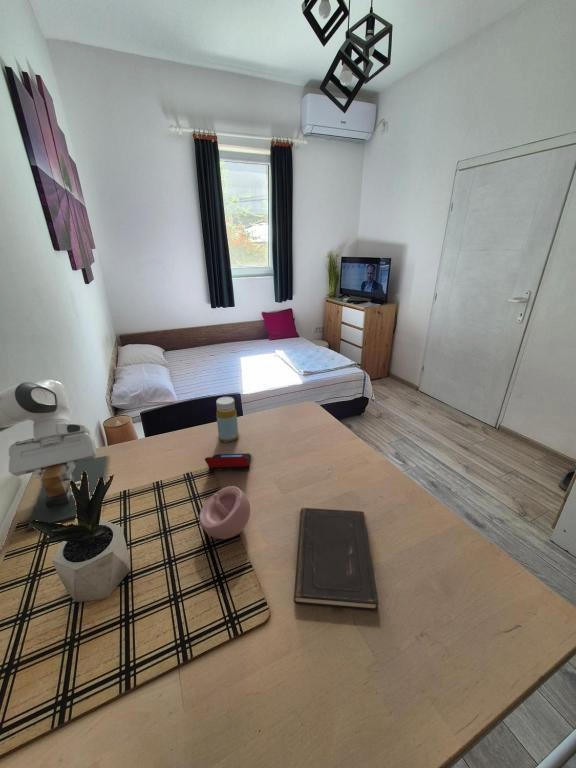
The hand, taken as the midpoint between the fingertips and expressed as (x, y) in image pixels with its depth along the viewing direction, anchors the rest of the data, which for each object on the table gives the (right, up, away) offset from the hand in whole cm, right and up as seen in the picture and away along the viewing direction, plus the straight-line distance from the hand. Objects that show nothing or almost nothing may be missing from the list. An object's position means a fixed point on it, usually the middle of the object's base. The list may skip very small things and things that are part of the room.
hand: (56, 482), depth 89 cm
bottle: (+42, +7, +30) cm, 52 cm away
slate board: (+1, -3, +5) cm, 6 cm away
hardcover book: (+74, -12, -16) cm, 76 cm away
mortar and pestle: (+48, -9, -9) cm, 50 cm away
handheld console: (+45, +1, +14) cm, 47 cm away
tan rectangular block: (0, -4, +2) cm, 4 cm away
